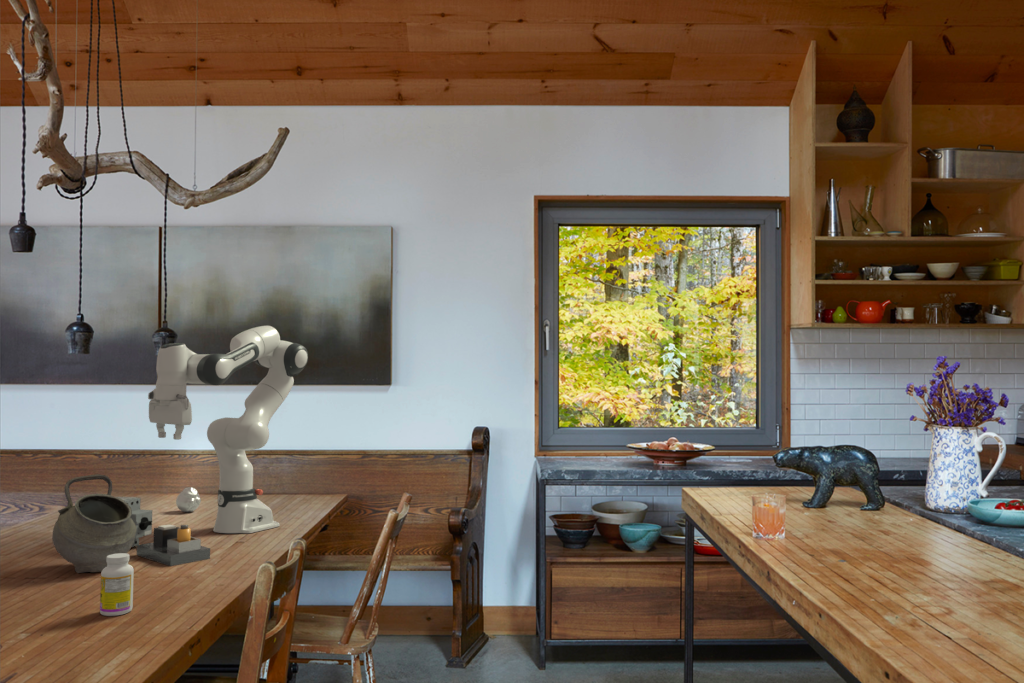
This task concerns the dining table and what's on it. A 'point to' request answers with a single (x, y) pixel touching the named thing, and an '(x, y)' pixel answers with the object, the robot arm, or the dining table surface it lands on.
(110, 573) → the supplement bottle
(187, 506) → the silver crumpled lump
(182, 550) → the grey socket board
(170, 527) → the button
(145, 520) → the circuit breaker
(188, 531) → the orange rounded cylinder
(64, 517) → the pot
